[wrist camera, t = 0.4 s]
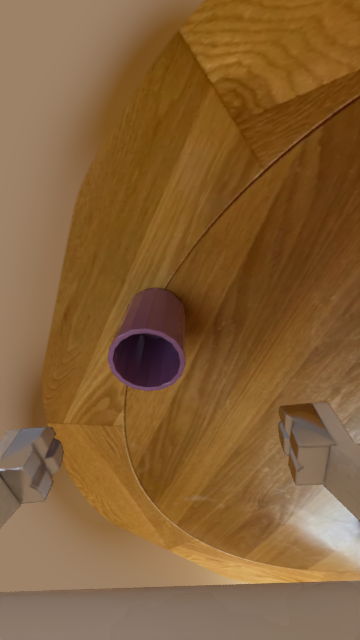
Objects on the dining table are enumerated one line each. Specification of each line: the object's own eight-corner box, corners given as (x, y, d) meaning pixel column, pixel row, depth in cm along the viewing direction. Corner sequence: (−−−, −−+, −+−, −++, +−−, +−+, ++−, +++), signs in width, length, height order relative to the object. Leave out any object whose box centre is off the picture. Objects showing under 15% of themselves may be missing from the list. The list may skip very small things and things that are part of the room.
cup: (121, 291, 30) (98, 333, 22) (180, 284, 29) (179, 324, 21) (134, 341, 33) (118, 393, 25) (188, 335, 32) (189, 387, 25)
